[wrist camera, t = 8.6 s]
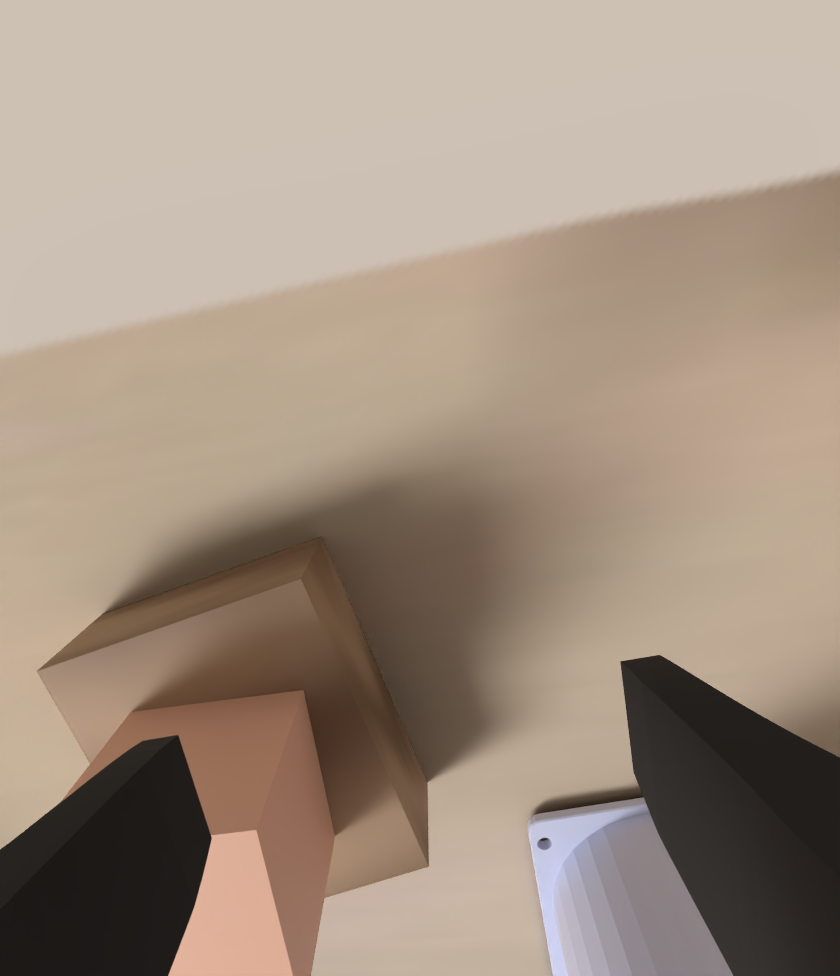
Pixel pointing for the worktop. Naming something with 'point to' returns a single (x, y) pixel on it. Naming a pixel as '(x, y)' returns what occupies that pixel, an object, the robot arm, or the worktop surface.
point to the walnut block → (264, 691)
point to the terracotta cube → (248, 830)
